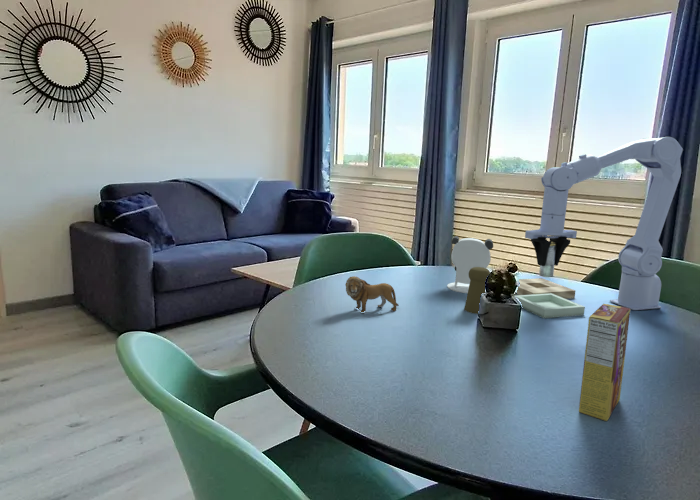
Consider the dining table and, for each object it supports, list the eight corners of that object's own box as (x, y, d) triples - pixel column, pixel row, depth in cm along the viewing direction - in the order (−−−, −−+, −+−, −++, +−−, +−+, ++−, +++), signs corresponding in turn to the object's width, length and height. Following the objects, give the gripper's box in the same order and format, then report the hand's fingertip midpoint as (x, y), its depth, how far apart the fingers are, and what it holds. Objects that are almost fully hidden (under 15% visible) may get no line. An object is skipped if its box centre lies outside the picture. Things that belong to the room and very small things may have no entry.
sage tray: (550, 301, 128) (551, 293, 127) (583, 315, 116) (584, 306, 116) (513, 303, 124) (513, 295, 124) (543, 318, 113) (544, 309, 113)
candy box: (590, 391, 77) (603, 302, 74) (620, 400, 74) (634, 308, 72) (575, 411, 70) (588, 315, 68) (607, 422, 68) (622, 322, 65)
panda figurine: (488, 285, 142) (493, 237, 139) (489, 295, 131) (494, 243, 128) (448, 281, 145) (452, 234, 142) (445, 291, 134) (449, 239, 131)
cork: (489, 315, 114) (493, 271, 112) (464, 312, 115) (467, 269, 113) (487, 307, 120) (491, 266, 118) (463, 305, 121) (466, 264, 119)
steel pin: (547, 274, 127) (551, 241, 125) (556, 277, 123) (559, 243, 122) (536, 274, 126) (539, 241, 124) (544, 277, 122) (548, 243, 121)
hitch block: (540, 285, 144) (541, 278, 144) (574, 298, 131) (575, 290, 131) (502, 287, 140) (502, 280, 140) (532, 301, 127) (533, 293, 127)
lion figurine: (349, 316, 110) (350, 279, 108) (340, 310, 114) (341, 274, 113) (403, 310, 116) (405, 275, 114) (393, 304, 120) (394, 270, 119)
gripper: (565, 212, 127) (559, 261, 130) (520, 212, 123) (514, 262, 126) (585, 215, 120) (578, 266, 123) (537, 215, 116) (531, 268, 119)
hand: (547, 265), depth 124 cm, fingers closed on steel pin, 3 cm apart
